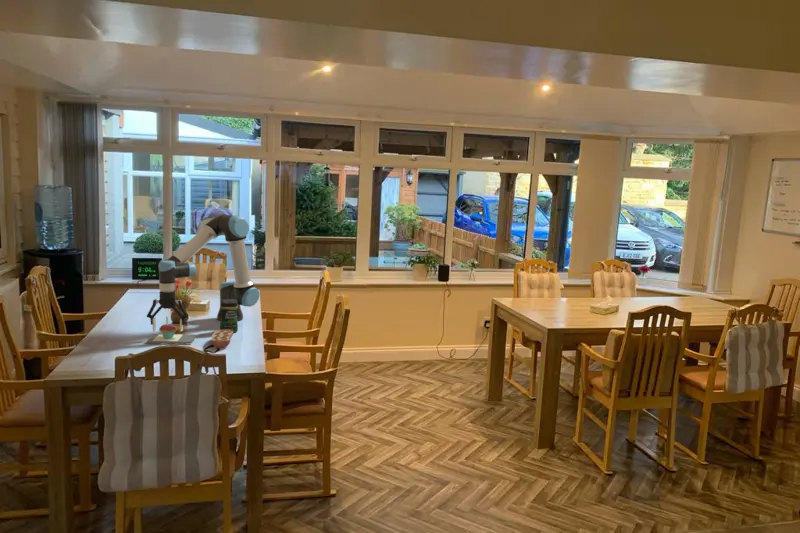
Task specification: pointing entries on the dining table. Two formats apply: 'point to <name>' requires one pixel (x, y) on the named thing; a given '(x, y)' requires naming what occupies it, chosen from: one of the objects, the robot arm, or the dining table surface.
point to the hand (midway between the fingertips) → (167, 330)
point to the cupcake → (168, 330)
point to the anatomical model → (222, 338)
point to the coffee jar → (229, 314)
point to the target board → (171, 339)
